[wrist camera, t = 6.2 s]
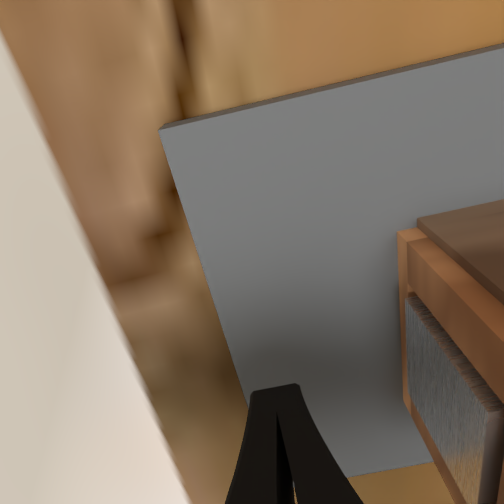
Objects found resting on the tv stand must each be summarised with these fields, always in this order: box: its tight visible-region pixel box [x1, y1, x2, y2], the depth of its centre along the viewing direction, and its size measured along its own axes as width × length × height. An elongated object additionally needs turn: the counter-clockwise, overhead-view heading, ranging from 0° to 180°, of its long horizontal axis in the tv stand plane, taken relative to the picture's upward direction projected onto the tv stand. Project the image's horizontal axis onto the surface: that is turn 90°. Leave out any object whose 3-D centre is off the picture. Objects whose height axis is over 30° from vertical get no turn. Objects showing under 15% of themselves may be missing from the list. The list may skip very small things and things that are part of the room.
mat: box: [158, 43, 504, 487], centre depth 13 cm, size 16×17×1 cm
